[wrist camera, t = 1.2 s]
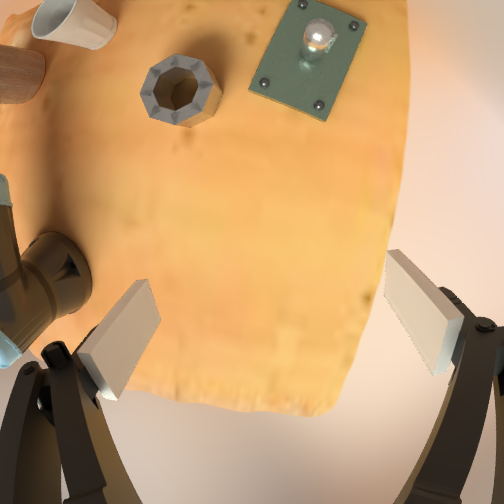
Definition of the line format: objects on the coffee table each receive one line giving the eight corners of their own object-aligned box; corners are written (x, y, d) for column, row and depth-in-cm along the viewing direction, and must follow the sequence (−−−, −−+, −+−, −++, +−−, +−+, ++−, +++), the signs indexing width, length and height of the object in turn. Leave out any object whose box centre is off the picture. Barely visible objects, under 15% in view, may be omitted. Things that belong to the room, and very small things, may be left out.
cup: (125, 5, 27) (84, -24, 15) (118, 48, 30) (70, 25, 18) (83, 19, 27) (38, -2, 16) (76, 60, 30) (26, 47, 19)
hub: (152, 115, 33) (132, 112, 28) (174, 62, 30) (158, 50, 25) (206, 133, 34) (194, 131, 28) (230, 77, 31) (222, 65, 26)
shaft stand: (249, 91, 32) (241, 75, 23) (294, -2, 26) (299, -35, 18) (323, 122, 32) (339, 115, 24) (364, 27, 27) (386, 1, 18)
